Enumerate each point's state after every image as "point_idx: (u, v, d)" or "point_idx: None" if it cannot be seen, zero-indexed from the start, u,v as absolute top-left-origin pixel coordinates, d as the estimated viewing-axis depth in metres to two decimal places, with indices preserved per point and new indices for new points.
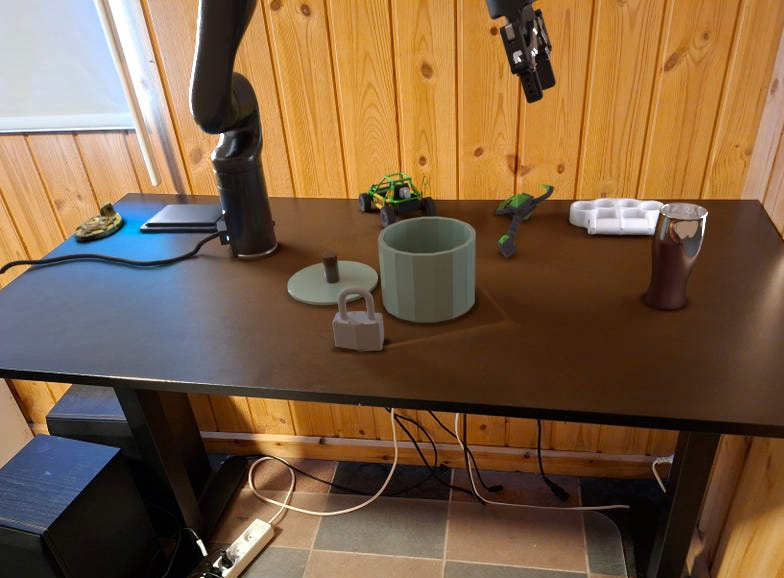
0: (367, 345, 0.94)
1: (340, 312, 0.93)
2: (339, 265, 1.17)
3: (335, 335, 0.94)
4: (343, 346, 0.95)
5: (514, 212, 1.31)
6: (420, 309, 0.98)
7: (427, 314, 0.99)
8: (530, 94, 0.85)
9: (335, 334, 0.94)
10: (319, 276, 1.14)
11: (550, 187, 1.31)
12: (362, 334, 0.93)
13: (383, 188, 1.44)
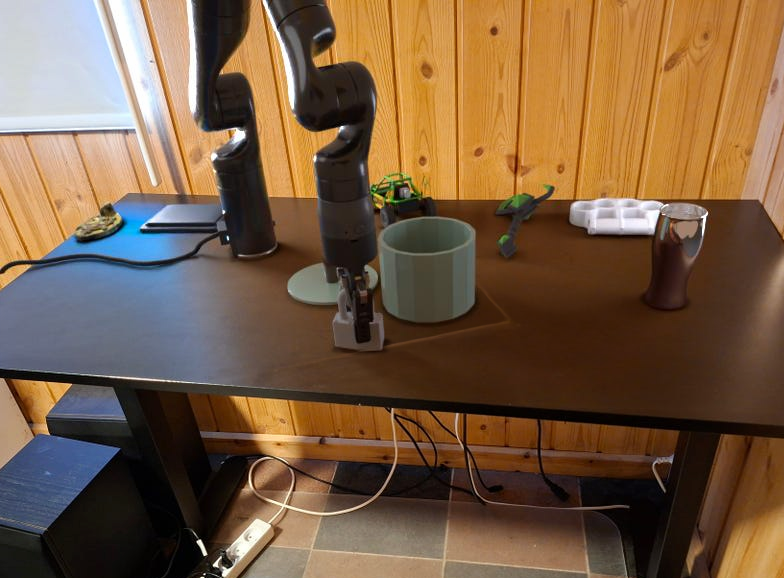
0: (367, 345, 0.94)
1: (340, 312, 0.93)
2: None
3: (335, 335, 0.94)
4: (343, 346, 0.95)
5: (515, 212, 1.31)
6: (420, 309, 0.98)
7: (427, 314, 0.99)
8: (362, 338, 0.91)
9: (335, 334, 0.94)
10: (319, 276, 1.14)
11: (551, 187, 1.31)
12: None
13: (383, 188, 1.44)
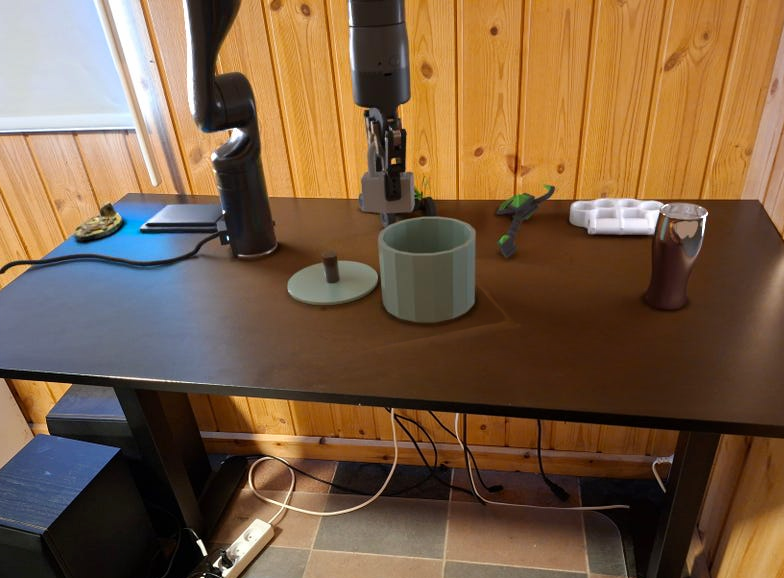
0: (397, 205, 0.89)
1: (369, 169, 0.88)
2: (339, 265, 1.17)
3: (363, 195, 0.89)
4: (371, 208, 0.90)
5: (515, 212, 1.31)
6: (420, 309, 0.98)
7: (427, 314, 0.99)
8: (393, 194, 0.86)
9: (363, 194, 0.89)
10: (319, 276, 1.14)
11: (551, 187, 1.31)
12: None
13: None
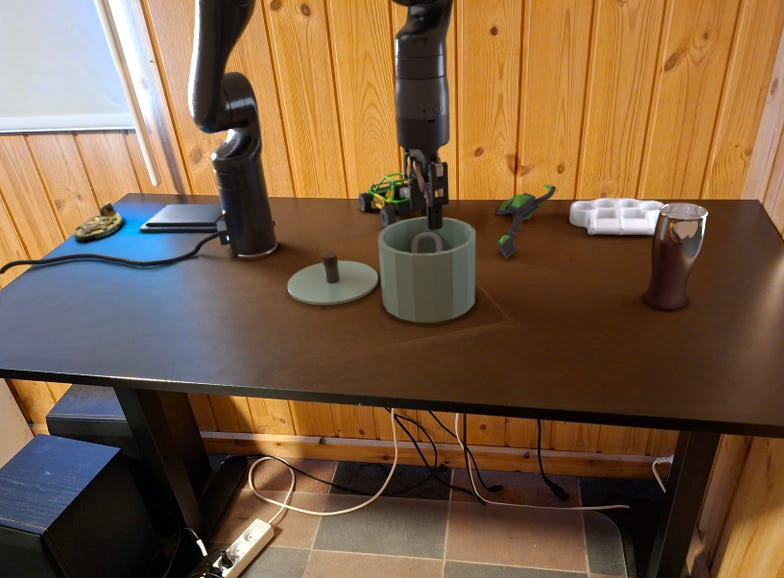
0: None
1: None
2: (339, 265, 1.17)
3: None
4: None
5: (515, 212, 1.31)
6: (420, 309, 0.98)
7: (427, 314, 0.99)
8: (435, 223, 0.93)
9: None
10: (319, 276, 1.14)
11: (552, 187, 1.31)
12: None
13: (383, 188, 1.44)
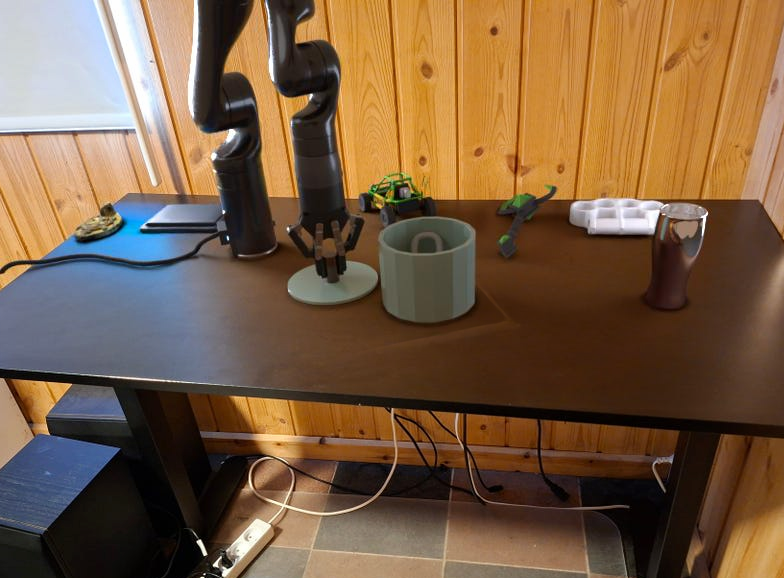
0: None
1: None
2: None
3: None
4: None
5: (516, 212, 1.31)
6: (420, 309, 0.98)
7: (427, 314, 0.99)
8: (316, 271, 1.11)
9: None
10: (319, 276, 1.14)
11: (553, 187, 1.31)
12: None
13: (383, 188, 1.44)
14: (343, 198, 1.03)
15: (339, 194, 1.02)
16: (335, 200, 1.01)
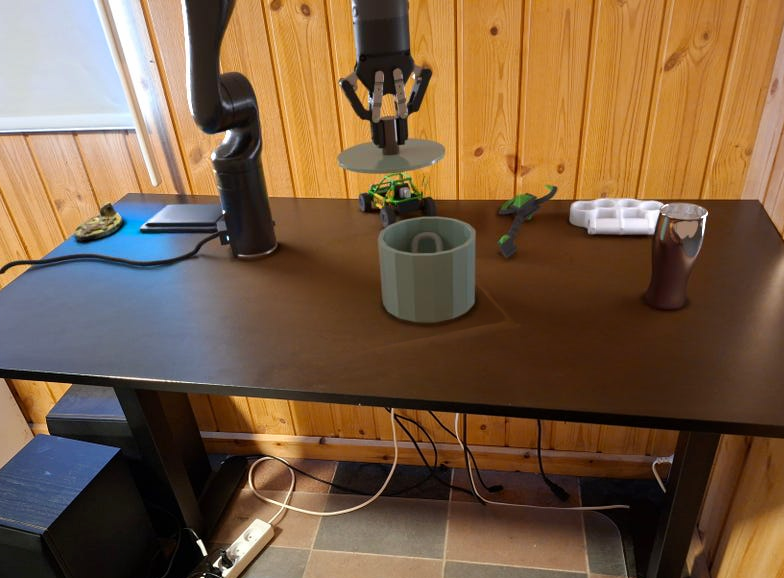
0: None
1: None
2: None
3: None
4: None
5: (517, 212, 1.31)
6: (420, 309, 0.98)
7: (427, 314, 0.99)
8: (372, 139, 0.93)
9: None
10: (374, 150, 0.96)
11: (554, 188, 1.31)
12: None
13: (383, 188, 1.44)
14: (409, 38, 0.85)
15: (405, 31, 0.83)
16: (400, 38, 0.83)
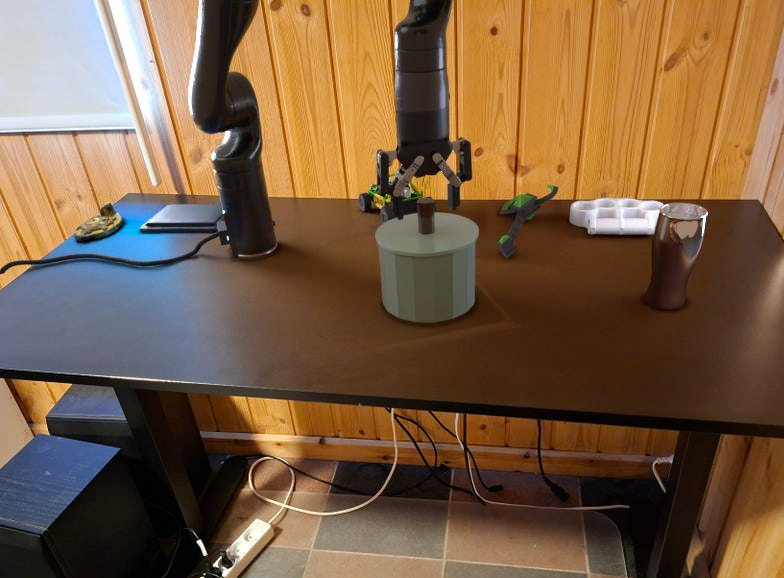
0: None
1: None
2: None
3: None
4: None
5: (517, 212, 1.31)
6: (420, 309, 0.98)
7: (427, 314, 0.99)
8: (392, 211, 0.96)
9: None
10: (410, 227, 1.01)
11: (554, 188, 1.31)
12: None
13: None
14: (448, 126, 0.89)
15: (446, 120, 0.88)
16: (441, 128, 0.87)
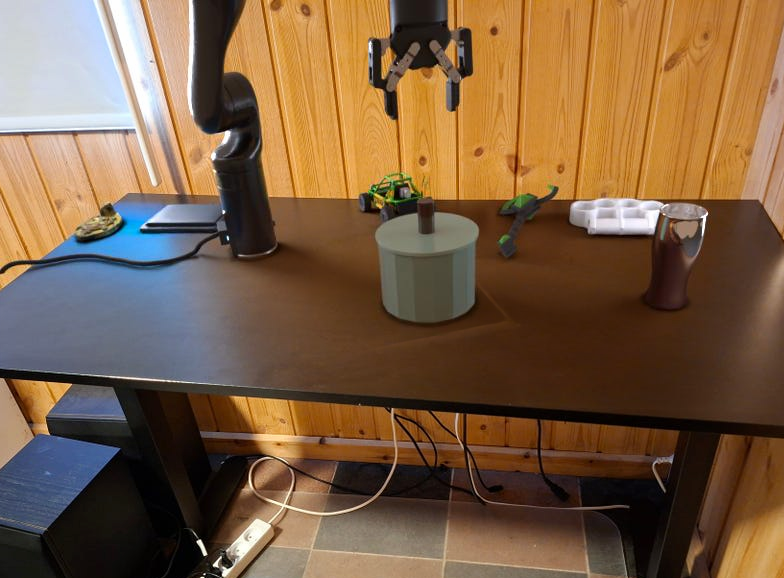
0: None
1: None
2: None
3: None
4: None
5: (518, 212, 1.31)
6: (420, 309, 0.98)
7: (427, 314, 0.99)
8: (386, 110, 0.88)
9: None
10: (410, 227, 1.01)
11: (555, 188, 1.31)
12: None
13: (383, 188, 1.44)
14: (447, 8, 0.81)
15: (444, 0, 0.80)
16: (439, 7, 0.79)
